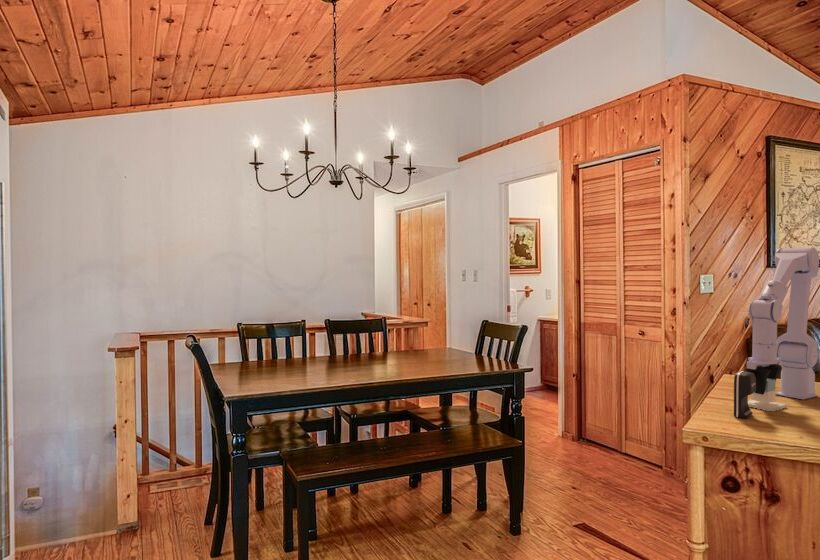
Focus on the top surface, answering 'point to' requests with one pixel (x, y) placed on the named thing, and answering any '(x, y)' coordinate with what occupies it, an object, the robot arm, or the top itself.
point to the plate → (766, 405)
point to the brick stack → (766, 392)
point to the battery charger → (743, 393)
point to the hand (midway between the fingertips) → (763, 392)
